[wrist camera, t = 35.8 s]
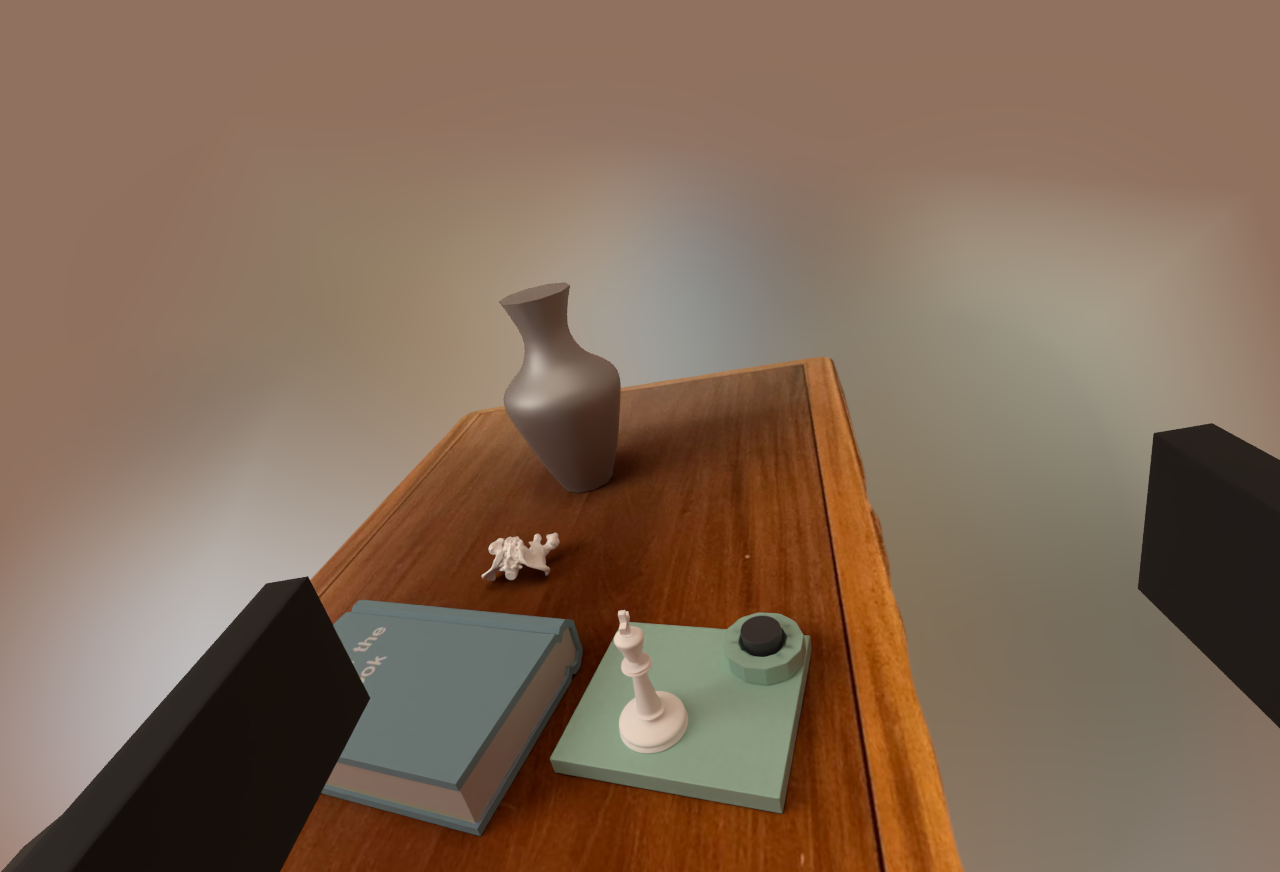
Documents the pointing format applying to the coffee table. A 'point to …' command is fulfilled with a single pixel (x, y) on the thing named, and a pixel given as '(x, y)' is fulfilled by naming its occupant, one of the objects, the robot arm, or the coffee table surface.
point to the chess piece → (646, 698)
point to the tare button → (761, 636)
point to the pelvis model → (519, 555)
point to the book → (448, 706)
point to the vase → (562, 392)
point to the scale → (698, 716)
